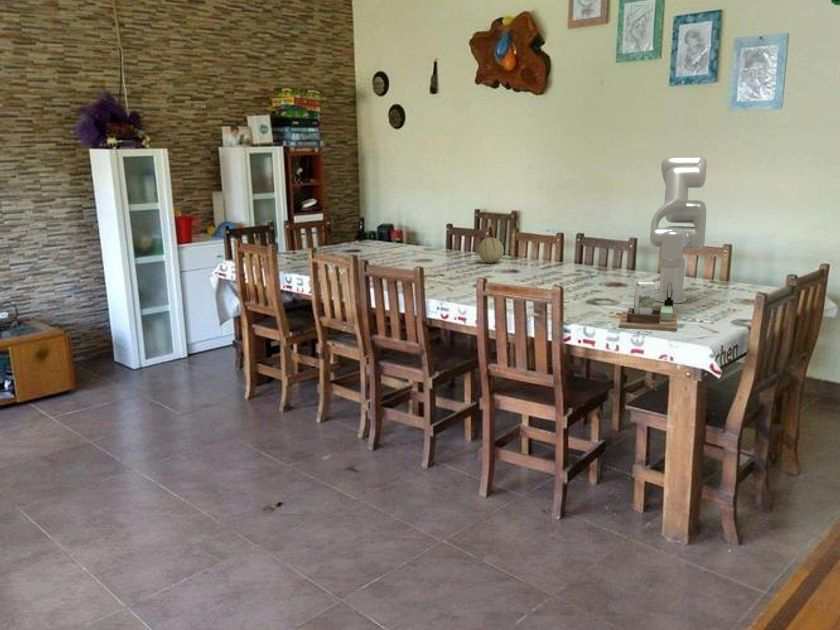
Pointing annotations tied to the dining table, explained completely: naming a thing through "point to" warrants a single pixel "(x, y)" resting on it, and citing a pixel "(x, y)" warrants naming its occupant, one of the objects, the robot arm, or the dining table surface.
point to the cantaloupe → (491, 250)
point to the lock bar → (666, 313)
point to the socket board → (647, 321)
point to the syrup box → (644, 297)
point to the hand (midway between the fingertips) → (668, 309)
